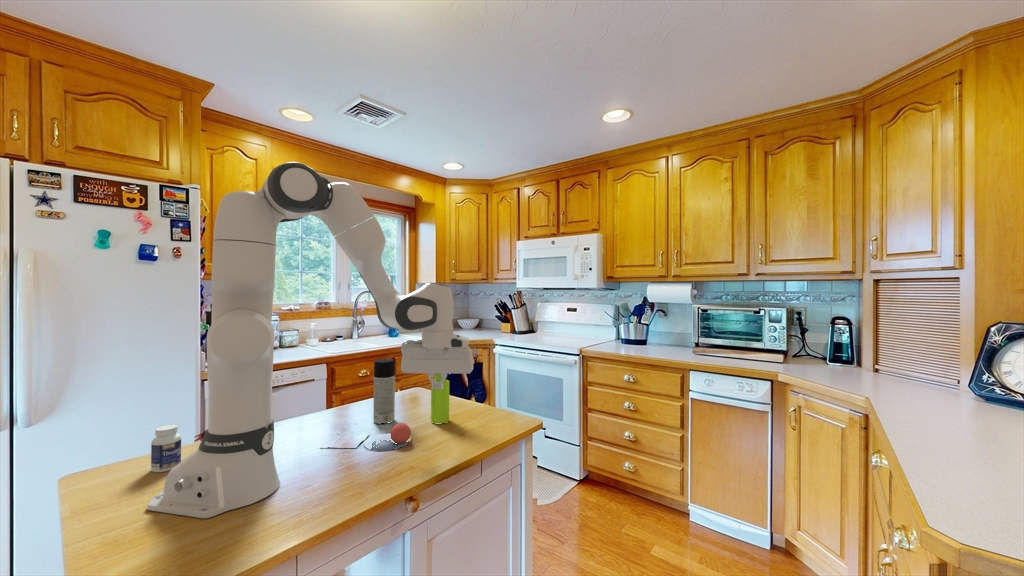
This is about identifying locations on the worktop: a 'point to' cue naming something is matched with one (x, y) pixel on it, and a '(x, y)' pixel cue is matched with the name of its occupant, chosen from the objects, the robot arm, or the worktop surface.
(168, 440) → the pill bottle
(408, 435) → the ball
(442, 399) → the soap dispenser
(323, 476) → the worktop surface
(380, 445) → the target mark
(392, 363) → the spray can
